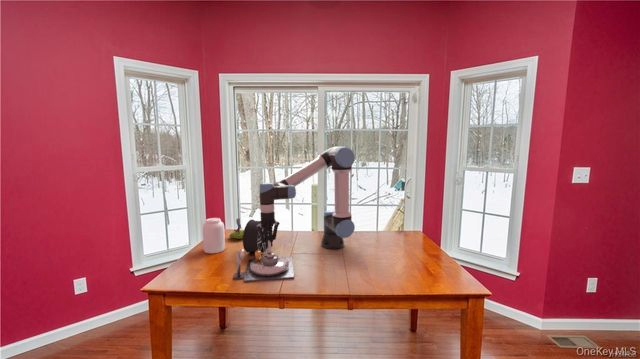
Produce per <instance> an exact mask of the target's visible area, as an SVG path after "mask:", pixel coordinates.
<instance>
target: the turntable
mask: <svg viewBox="0 0 640 359" xmlns="http://www.w3.org/2000/svg"><path fill="white" fill-rule="evenodd" d="M277 256H278V264H276V265H274V266H265V265H263V256H262V254H261V251H260V250H257V251H255V252H254V259H255V260H254V261H252V262H251V264H250V270H251V272H252V273H254V274H256V275H260V276H273V275H277V274H281V273H283V272H285V271H286V270H287V269H288V268H289V261H288V260H287V259H286V258H284V256H280V255H277Z"/></svg>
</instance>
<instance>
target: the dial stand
mask: <svg viewBox="0 0 640 359" xmlns="http://www.w3.org/2000/svg"><path fill="white" fill-rule="evenodd" d="M241 259H242V260H244V259H245V249H240V250H239V251H236V272H234V274H233V277H232V280H244V277H245V273H246V271H244V272H242V270H241Z"/></svg>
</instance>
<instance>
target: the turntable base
mask: <svg viewBox="0 0 640 359" xmlns="http://www.w3.org/2000/svg"><path fill="white" fill-rule="evenodd" d="M283 257H284V256H283ZM284 258H286V259H287V260H288V261H289V268H288V269H287V270H286V271H285V272H283V273H281V274H277V275H273V276H260V275H256V274H254V273H252V272H251V270H250V264H251V262H252V261H254V260H255V258H253V259H252V258H251V259H248V262H247V266H246V268H245V269H246V270H245V275H244V279H243V283H253V282H256V283H257V282H268V281H282V280H284V281H285V280H293V279H295V275H294V266H293V259H292V256H286V257H284Z"/></svg>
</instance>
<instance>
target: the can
mask: <svg viewBox="0 0 640 359" xmlns="http://www.w3.org/2000/svg"><path fill="white" fill-rule="evenodd" d="M225 233H226V232H225V224H224V222H223V221H222V220H221V218H220V217H210V218H207V219H205V223H203V225H202V244H203V252H204V253H205V254H218V253H221V252H223V251H225V249H226V240H225V238H226V237H225V236H226V235H225Z"/></svg>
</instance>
